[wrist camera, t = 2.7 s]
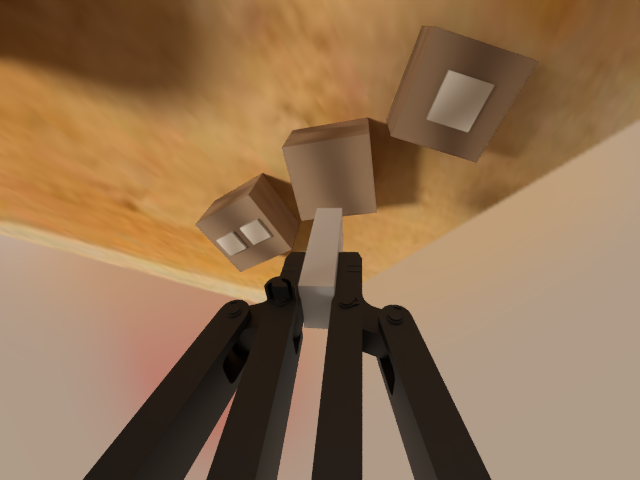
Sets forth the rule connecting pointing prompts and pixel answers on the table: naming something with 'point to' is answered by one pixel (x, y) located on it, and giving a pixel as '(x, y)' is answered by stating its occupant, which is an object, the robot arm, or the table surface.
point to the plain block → (332, 168)
